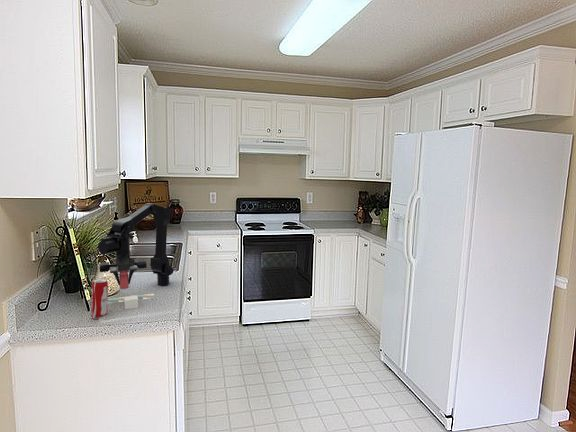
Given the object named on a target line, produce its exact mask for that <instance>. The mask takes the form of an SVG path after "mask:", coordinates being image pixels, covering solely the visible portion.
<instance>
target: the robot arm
mask: <svg viewBox="0 0 576 432" xmlns="http://www.w3.org/2000/svg"><path fill="white" fill-rule="evenodd" d="M150 215H152V218H153V221H154V224H155V225H156V226H155V227H156V228H155V229H156V231H155V248H154V249H155V252H154V255H153V257H150V264H149V266H150V269H151V271H152V273H153V274H156V277H157V278H156V279H157V282H156V283H157V285H158V286H160V287H168V286H169V285H170V276H172V275H173V274H174V268H173V267H172V266H171V265H170V260H169V257H168V256H167V239H168V238H167V236H168V234H167V233H168V224H169V223H170V221H171V219H172V209H171V208H170V207H168V206H161V205H157V204H155V203H149V202H147V203H145V204H143V206H141V207H140V208H139V209H137V210H136V211H134V212H132V213H131V214H130V215H128V216H126V217H123V218H119V219H116V220H115V221H114V222H113V223H112V224H111V225H112V226H111V227H110V229H109V231H108V233H107V235H106V237H101V238H100V241H99V242H98V245H97V251H98V253H99V254H101V255H104V256H105V255H109V254H112V253H115V263H110V261H108V262H107V261H106V262H100V263H99V267H98V269H99V273H108V272H109V273H110V274H112V275H113V276H114V278H115V279H116V281H117V284H118V286H120V278H119V275H120V274H119V272H120V271H122V270H127V271H128V282H129V285H130V284H131V280H132V277H133V275H134V273H135V272H137V271H138V269H139V270H141V269H147V267H148V266H147V265H148V263H147V261H146V259H145V258H142V259H136V261H135V258H134V257H131V247H130V246H131V245H130V240H131V239H133V238H134V236H133V235H132V234H131V233H132V232H133V231H134V230H135V227H136V225H137V224H139V223H140V222H141V221H144V219H145V218H147V217H149V216H150Z"/></svg>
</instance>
